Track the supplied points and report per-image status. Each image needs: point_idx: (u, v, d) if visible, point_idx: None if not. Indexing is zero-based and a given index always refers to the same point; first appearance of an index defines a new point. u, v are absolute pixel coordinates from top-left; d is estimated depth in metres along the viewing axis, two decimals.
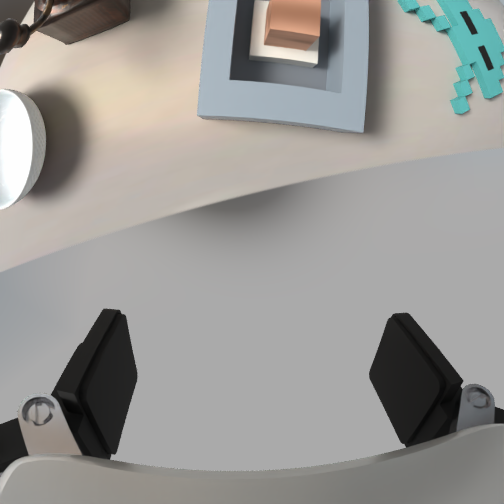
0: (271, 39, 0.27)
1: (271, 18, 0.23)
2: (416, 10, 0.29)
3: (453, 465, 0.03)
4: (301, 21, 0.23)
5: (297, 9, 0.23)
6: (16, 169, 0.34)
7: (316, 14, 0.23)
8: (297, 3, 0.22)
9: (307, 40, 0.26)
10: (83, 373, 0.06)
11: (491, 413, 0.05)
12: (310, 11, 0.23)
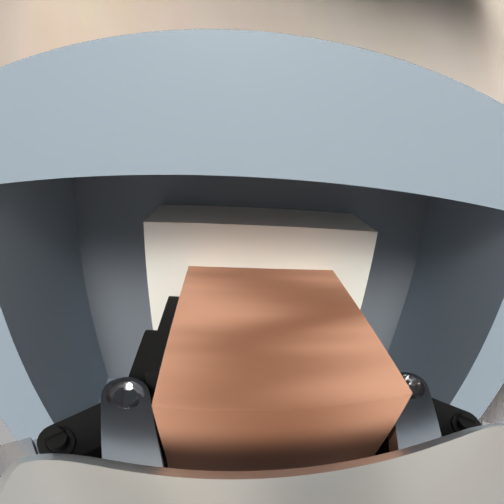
0: None
1: (222, 415, 0.05)
2: None
3: (453, 465, 0.03)
4: None
5: None
6: None
7: None
8: None
9: None
10: None
11: (428, 399, 0.06)
12: None
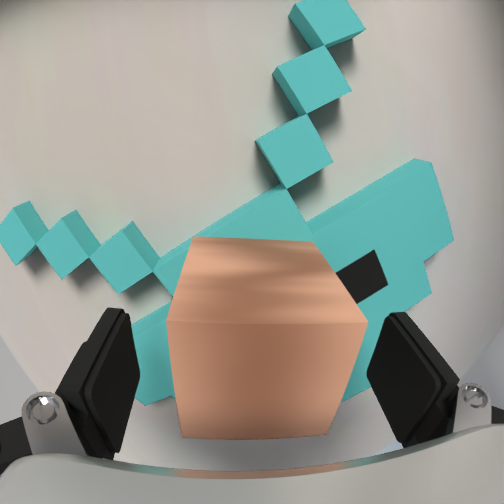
0: None
1: (218, 327, 0.07)
2: None
3: (453, 465, 0.03)
4: (225, 406, 0.08)
5: (277, 395, 0.08)
6: None
7: (262, 432, 0.09)
8: (302, 394, 0.08)
9: None
10: (88, 372, 0.06)
11: (488, 412, 0.05)
12: (269, 421, 0.09)
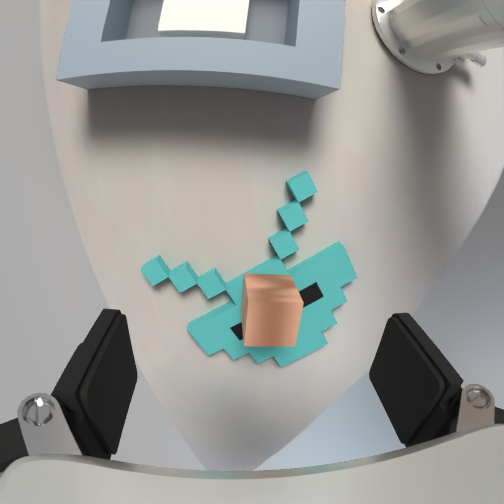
0: (245, 289, 0.30)
1: (262, 303, 0.27)
2: (294, 200, 0.31)
3: (453, 465, 0.03)
4: (261, 330, 0.28)
5: (277, 326, 0.28)
6: None
7: (272, 342, 0.28)
8: (285, 326, 0.28)
9: (243, 327, 0.30)
10: (83, 373, 0.06)
11: (491, 413, 0.05)
12: (274, 337, 0.28)
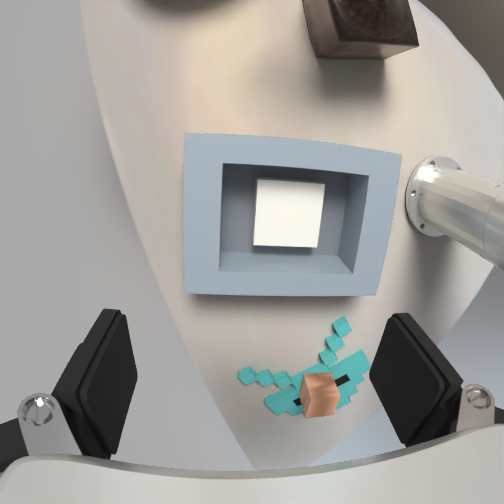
0: (306, 386, 0.46)
1: (318, 398, 0.43)
2: (336, 333, 0.47)
3: (453, 465, 0.03)
4: (315, 410, 0.44)
5: (324, 407, 0.44)
6: None
7: (320, 414, 0.45)
8: (329, 407, 0.44)
9: (303, 406, 0.46)
10: (83, 373, 0.06)
11: (491, 413, 0.05)
12: (322, 412, 0.45)
